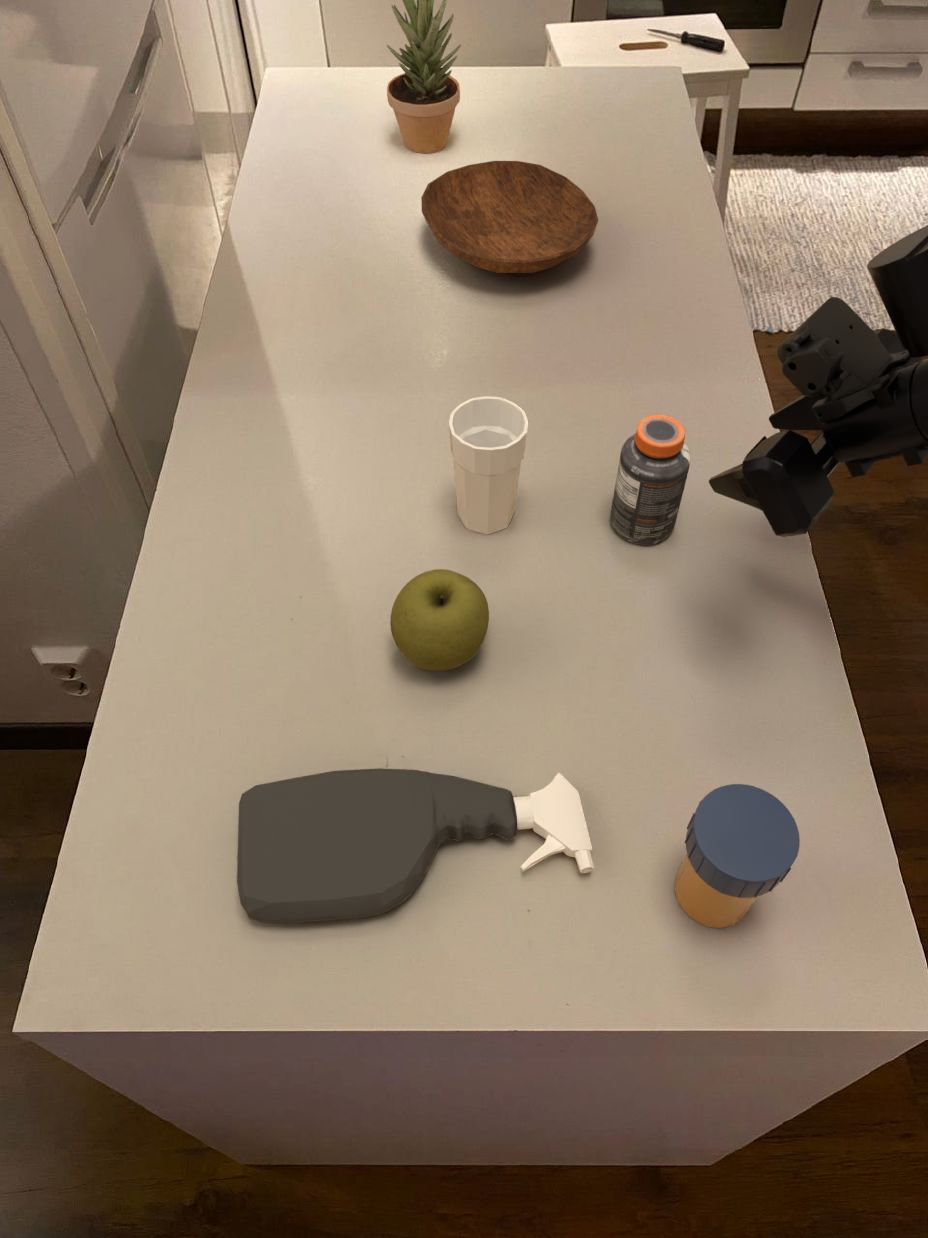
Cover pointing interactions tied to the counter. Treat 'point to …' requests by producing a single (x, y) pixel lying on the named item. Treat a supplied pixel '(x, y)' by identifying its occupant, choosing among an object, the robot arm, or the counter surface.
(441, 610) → the apple
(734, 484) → the robot arm
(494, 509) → the cup
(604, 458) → the counter surface
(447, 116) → the potted plant
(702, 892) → the jar
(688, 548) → the counter surface
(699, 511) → the counter surface
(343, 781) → the spray bottle
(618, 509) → the pill bottle
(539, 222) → the bowl
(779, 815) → the jar lid
